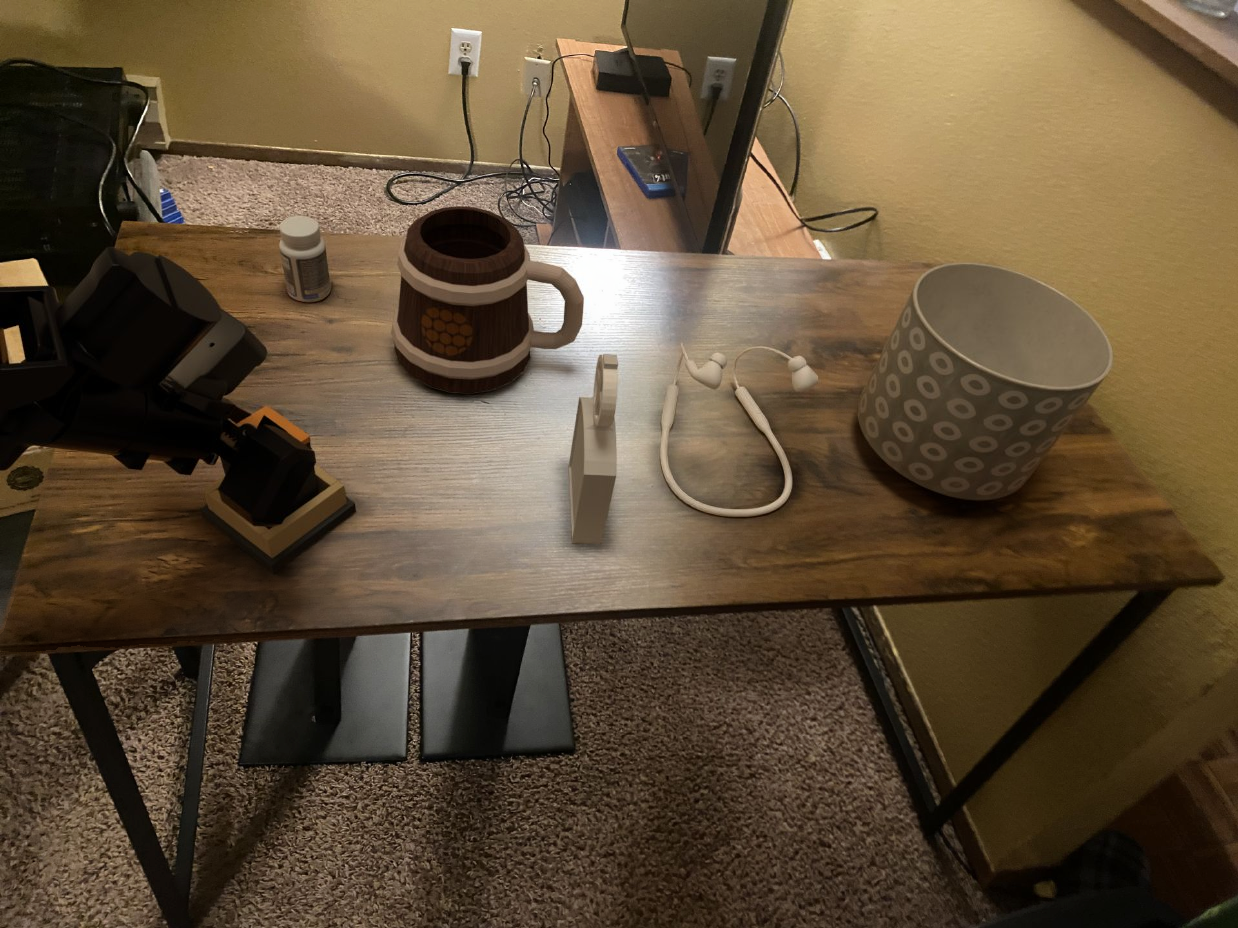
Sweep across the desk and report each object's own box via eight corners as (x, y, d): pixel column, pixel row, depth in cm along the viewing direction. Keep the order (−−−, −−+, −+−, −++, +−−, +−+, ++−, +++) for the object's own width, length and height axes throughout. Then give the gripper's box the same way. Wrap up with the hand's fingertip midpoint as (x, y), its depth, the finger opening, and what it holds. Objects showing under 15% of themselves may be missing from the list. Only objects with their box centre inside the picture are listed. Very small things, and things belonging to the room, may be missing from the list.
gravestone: (596, 468, 83) (623, 323, 70) (601, 544, 76) (632, 400, 63) (568, 466, 82) (590, 321, 69) (571, 543, 76) (596, 398, 63)
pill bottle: (336, 282, 96) (329, 218, 90) (322, 306, 93) (313, 241, 87) (296, 275, 96) (285, 210, 90) (280, 299, 93) (268, 233, 87)
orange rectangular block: (272, 534, 70) (257, 470, 64) (231, 502, 71) (213, 437, 65) (321, 499, 73) (310, 435, 67) (280, 470, 74) (267, 405, 69)
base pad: (273, 574, 69) (266, 547, 66) (202, 517, 72) (192, 489, 69) (356, 511, 75) (353, 484, 72) (287, 461, 77) (281, 433, 75)
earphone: (765, 347, 94) (834, 346, 76) (756, 493, 96) (822, 525, 78) (647, 342, 91) (690, 340, 73) (640, 492, 93) (681, 525, 76)
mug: (375, 387, 86) (365, 263, 75) (411, 300, 96) (407, 181, 85) (567, 418, 87) (584, 300, 76) (582, 329, 97) (599, 215, 86)
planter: (820, 397, 95) (880, 262, 82) (962, 388, 100) (1039, 260, 87) (894, 527, 83) (978, 394, 70) (1051, 510, 88) (1156, 383, 75)
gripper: (272, 369, 50) (411, 410, 65) (80, 237, 55) (249, 303, 70) (184, 528, 51) (342, 532, 65) (4, 382, 56) (186, 417, 71)
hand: (279, 440), depth 68 cm, fingers closed on orange rectangular block, 5 cm apart
